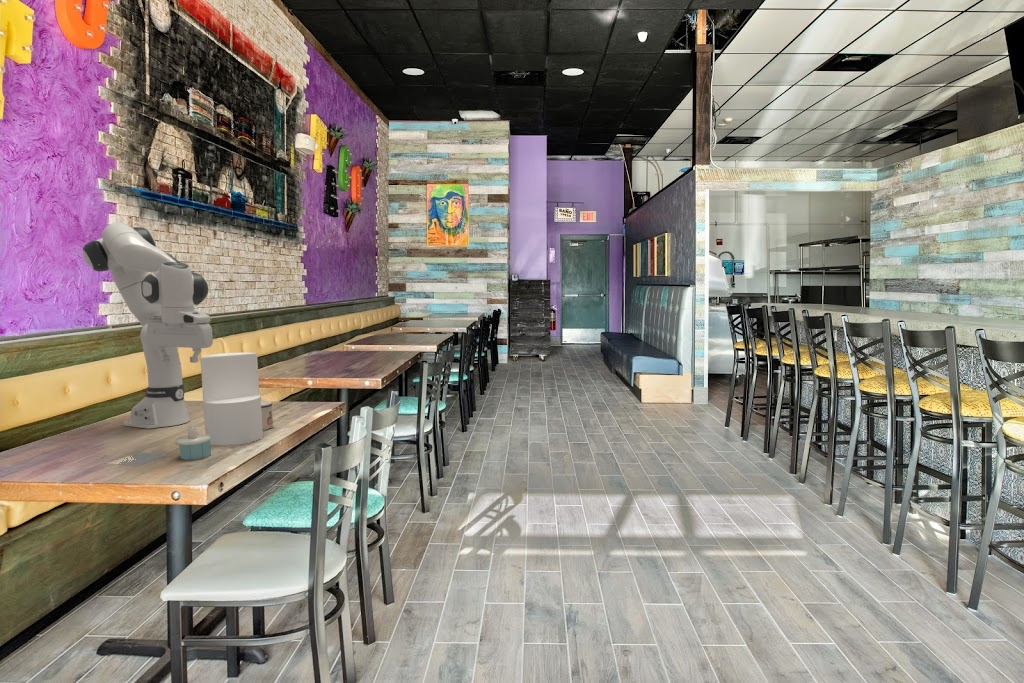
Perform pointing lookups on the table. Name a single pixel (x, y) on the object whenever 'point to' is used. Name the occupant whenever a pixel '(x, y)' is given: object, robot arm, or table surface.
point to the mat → (142, 458)
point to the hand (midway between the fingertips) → (180, 361)
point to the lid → (193, 437)
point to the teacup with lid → (266, 414)
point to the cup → (195, 451)
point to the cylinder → (231, 398)
